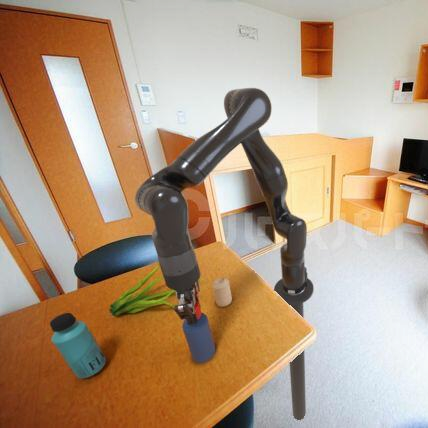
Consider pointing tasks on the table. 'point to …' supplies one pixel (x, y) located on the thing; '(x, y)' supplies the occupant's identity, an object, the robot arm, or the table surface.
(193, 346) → the water bottle
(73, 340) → the beverage bottle
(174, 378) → the table surface
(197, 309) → the cap
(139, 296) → the decorative plant
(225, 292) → the candle
